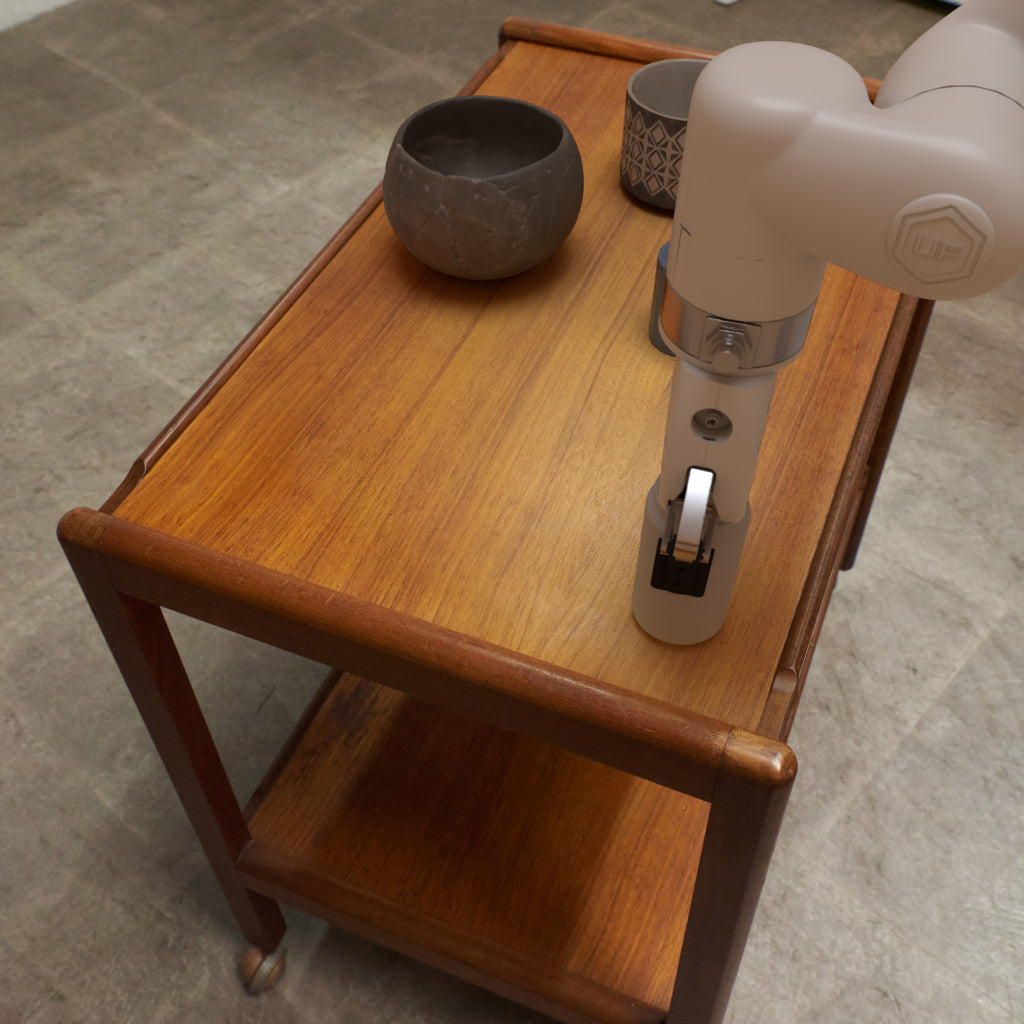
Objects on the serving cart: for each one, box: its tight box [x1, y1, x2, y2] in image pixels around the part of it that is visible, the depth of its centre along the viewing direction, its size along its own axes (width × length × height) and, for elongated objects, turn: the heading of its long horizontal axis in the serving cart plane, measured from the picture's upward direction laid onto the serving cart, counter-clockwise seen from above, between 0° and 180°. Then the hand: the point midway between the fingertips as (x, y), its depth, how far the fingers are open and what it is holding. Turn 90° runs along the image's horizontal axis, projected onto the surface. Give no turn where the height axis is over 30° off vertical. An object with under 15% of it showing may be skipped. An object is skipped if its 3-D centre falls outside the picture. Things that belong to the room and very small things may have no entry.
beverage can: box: [631, 473, 752, 646], centre depth 68 cm, size 6×6×12 cm
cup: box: [648, 240, 676, 358], centre depth 90 cm, size 6×6×8 cm
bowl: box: [382, 94, 585, 281], centre depth 96 cm, size 18×18×13 cm
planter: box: [618, 57, 712, 211], centre depth 105 cm, size 13×13×10 cm
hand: (688, 529), depth 66 cm, fingers open, 9 cm apart
